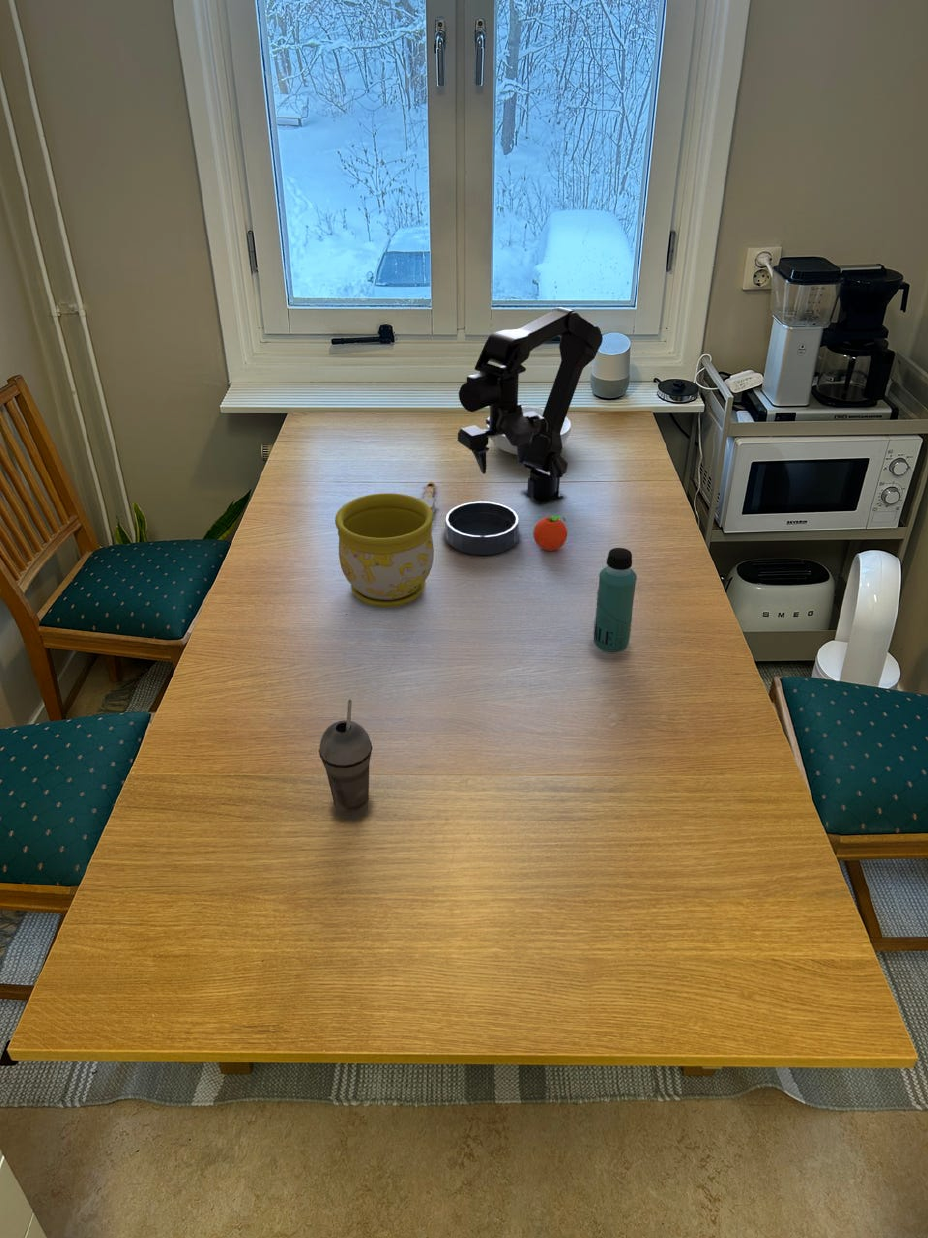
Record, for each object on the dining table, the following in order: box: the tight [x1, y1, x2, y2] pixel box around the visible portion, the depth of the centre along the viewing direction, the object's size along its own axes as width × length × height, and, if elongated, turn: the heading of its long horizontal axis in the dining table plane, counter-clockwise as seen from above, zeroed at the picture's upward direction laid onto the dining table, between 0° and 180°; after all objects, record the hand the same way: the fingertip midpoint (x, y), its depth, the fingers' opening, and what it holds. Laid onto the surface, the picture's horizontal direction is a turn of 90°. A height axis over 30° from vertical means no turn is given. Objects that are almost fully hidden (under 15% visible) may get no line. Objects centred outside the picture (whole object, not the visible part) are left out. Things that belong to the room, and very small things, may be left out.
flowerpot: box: [334, 492, 435, 609], centre depth 173 cm, size 18×18×16 cm
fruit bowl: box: [444, 500, 520, 556], centre depth 193 cm, size 15×15×4 cm
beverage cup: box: [318, 699, 373, 821], centre depth 126 cm, size 7×7×20 cm
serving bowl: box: [485, 406, 572, 455], centre depth 229 cm, size 21×21×7 cm
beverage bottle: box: [592, 547, 638, 654], centre depth 156 cm, size 6×7×20 cm
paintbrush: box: [417, 481, 436, 514], centre depth 204 cm, size 4×3×20 cm
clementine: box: [533, 515, 568, 552], centre depth 189 cm, size 8×7×7 cm
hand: (502, 467), depth 194 cm, fingers open, 9 cm apart
